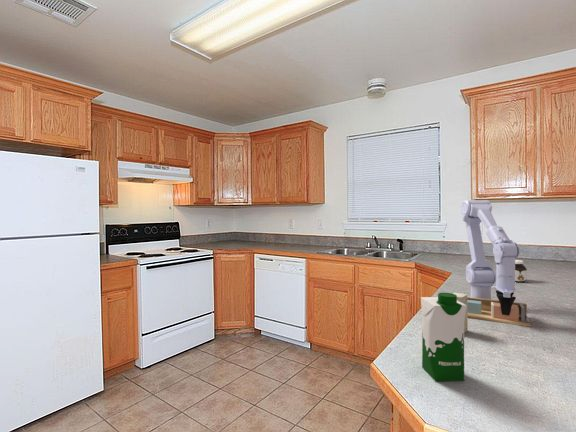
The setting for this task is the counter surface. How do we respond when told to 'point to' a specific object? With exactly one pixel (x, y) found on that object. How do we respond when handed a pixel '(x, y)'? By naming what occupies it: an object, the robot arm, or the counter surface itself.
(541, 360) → the counter surface
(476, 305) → the pale blue cube
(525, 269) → the spread jar
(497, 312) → the boxed book
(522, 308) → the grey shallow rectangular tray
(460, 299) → the skincare box
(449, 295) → the milk carton
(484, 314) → the shelf
